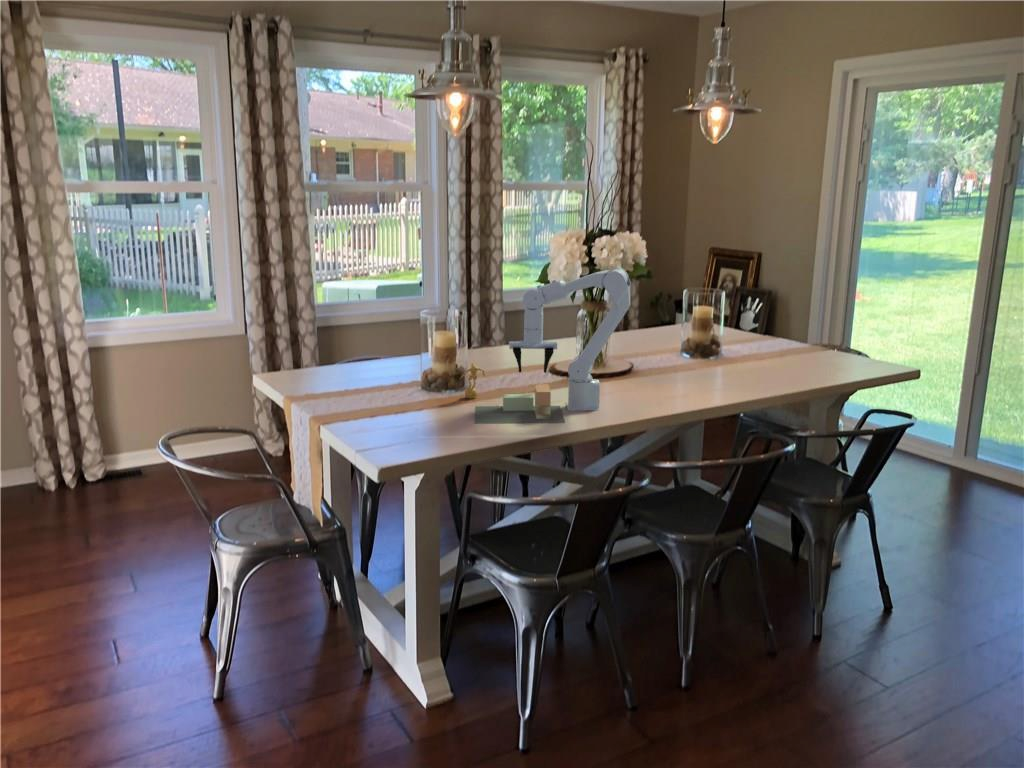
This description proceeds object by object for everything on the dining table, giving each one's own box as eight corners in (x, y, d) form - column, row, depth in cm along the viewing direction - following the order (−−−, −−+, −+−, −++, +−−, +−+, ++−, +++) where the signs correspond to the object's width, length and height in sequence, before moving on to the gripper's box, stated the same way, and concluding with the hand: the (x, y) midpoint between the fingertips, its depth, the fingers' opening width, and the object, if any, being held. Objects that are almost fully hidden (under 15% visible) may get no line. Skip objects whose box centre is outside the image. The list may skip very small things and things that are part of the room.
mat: (560, 406, 256) (560, 405, 256) (565, 424, 238) (565, 422, 238) (475, 407, 255) (475, 406, 255) (474, 424, 237) (474, 423, 237)
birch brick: (548, 409, 251) (548, 397, 250) (550, 418, 242) (550, 405, 241) (534, 409, 251) (534, 397, 250) (536, 418, 242) (536, 405, 241)
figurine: (480, 396, 268) (480, 359, 265) (488, 400, 263) (488, 363, 260) (456, 399, 264) (455, 362, 261) (464, 403, 259) (463, 366, 256)
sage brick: (532, 406, 254) (532, 394, 253) (533, 410, 250) (533, 397, 249) (503, 407, 254) (503, 394, 253) (503, 410, 250) (503, 397, 249)
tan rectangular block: (548, 397, 250) (548, 384, 249) (550, 405, 241) (550, 391, 240) (535, 397, 250) (535, 384, 249) (536, 405, 241) (536, 392, 240)
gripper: (510, 330, 248) (509, 374, 252) (558, 330, 249) (557, 375, 252) (509, 326, 255) (508, 369, 258) (556, 326, 256) (555, 369, 259)
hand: (532, 371), depth 256 cm, fingers open, 7 cm apart
